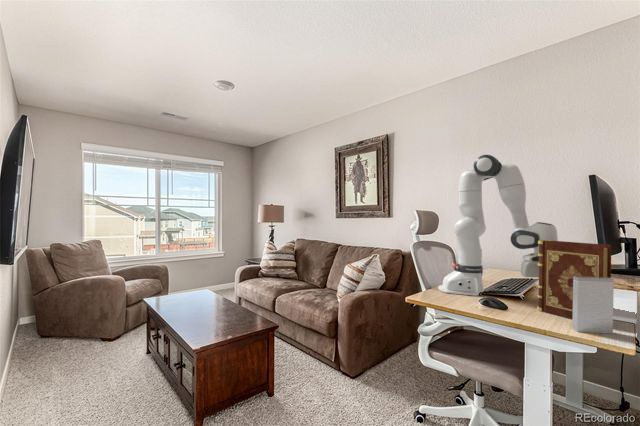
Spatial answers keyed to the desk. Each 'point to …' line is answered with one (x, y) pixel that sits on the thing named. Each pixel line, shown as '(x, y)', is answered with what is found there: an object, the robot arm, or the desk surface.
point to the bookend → (593, 304)
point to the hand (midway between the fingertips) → (546, 287)
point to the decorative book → (567, 272)
